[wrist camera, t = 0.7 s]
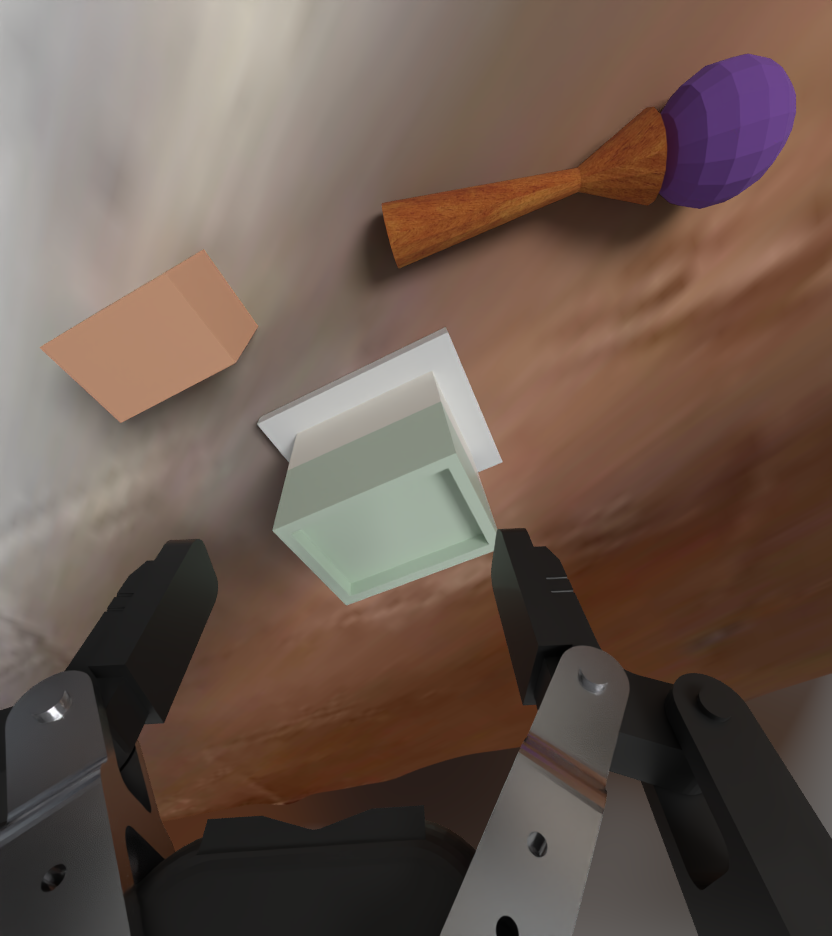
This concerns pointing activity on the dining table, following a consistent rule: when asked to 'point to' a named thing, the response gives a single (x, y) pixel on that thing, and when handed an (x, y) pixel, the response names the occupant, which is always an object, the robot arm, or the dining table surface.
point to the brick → (156, 339)
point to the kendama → (630, 160)
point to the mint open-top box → (386, 472)
